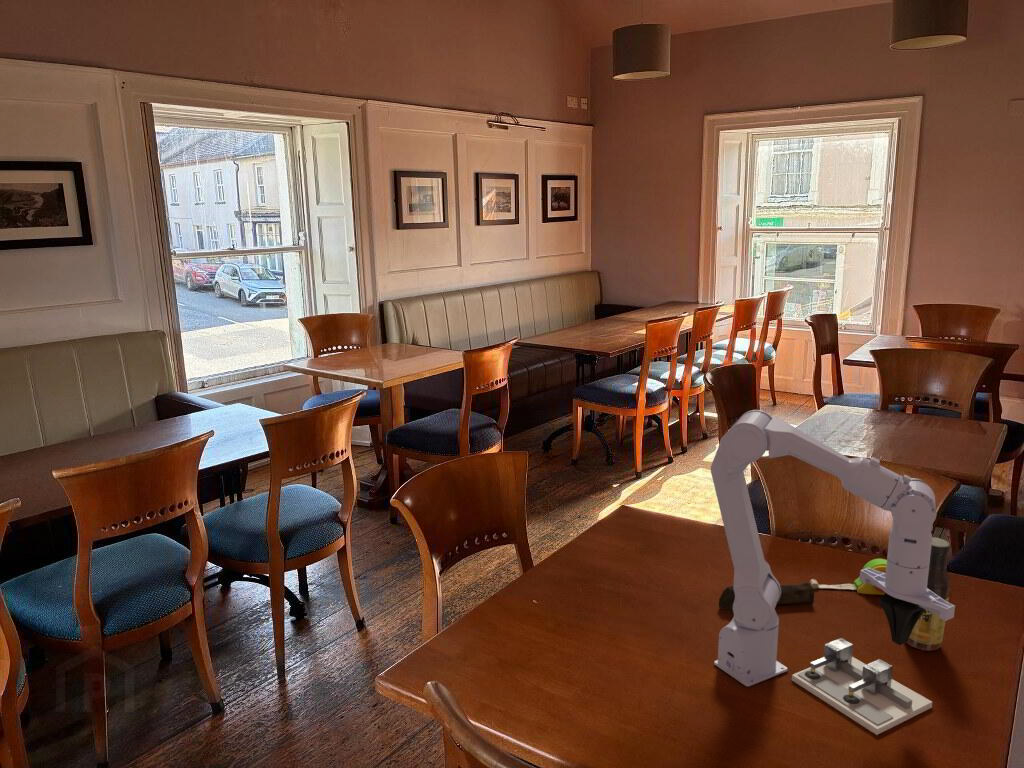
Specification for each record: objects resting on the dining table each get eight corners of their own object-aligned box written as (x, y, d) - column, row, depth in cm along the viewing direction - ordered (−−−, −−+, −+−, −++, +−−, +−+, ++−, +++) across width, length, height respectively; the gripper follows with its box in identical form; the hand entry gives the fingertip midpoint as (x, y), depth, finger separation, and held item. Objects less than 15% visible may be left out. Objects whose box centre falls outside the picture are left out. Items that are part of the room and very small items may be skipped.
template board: (876, 735, 115) (878, 721, 115) (791, 680, 129) (792, 668, 129) (931, 707, 122) (933, 695, 121) (844, 657, 135) (845, 646, 135)
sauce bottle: (894, 638, 141) (904, 536, 137) (920, 631, 143) (931, 530, 139) (924, 657, 135) (936, 550, 131) (951, 649, 137) (963, 544, 133)
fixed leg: (816, 679, 127) (818, 658, 126) (805, 671, 129) (806, 651, 128) (851, 664, 131) (853, 644, 130) (839, 657, 133) (841, 637, 132)
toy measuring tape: (916, 600, 155) (919, 569, 153) (813, 594, 158) (815, 564, 156) (906, 585, 161) (909, 555, 159) (807, 580, 164) (809, 550, 163)
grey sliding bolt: (855, 703, 121) (857, 681, 120) (842, 695, 123) (844, 674, 122) (890, 687, 125) (892, 666, 124) (877, 679, 127) (879, 658, 126)
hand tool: (805, 597, 157) (807, 575, 156) (815, 607, 153) (816, 585, 152) (714, 603, 155) (715, 581, 154) (721, 613, 151) (722, 591, 150)
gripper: (971, 572, 114) (961, 656, 117) (882, 537, 126) (875, 614, 129) (941, 584, 110) (931, 670, 113) (853, 547, 123) (847, 625, 126)
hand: (900, 641), depth 121 cm, fingers closed
